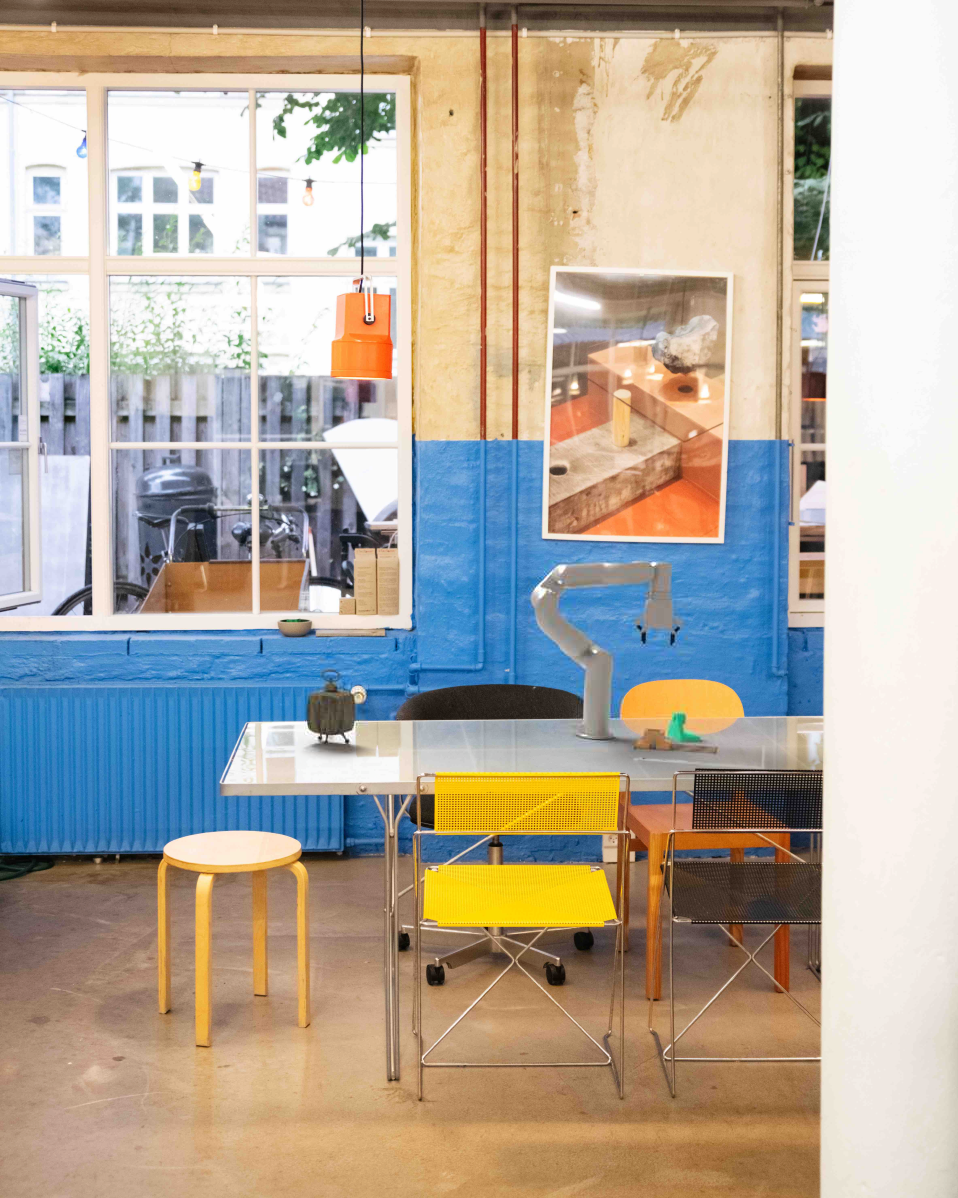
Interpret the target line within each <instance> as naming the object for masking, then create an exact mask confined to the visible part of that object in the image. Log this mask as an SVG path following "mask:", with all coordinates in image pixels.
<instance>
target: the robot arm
mask: <svg viewBox="0 0 958 1198" xmlns="http://www.w3.org/2000/svg"><path fill="white" fill-rule="evenodd" d="M671 582H672V565H671V563H670V562H667V561H653V562H649V561H645V560H635V561H631V562H627V563H626V562H623V563H621V562H620V563H617V562H613V563H612V562H603V561H602V562H590V563H589V562H585V563H575V564H573V563H571V564H568V563H567V564H566V563H562V564H558V565H556V567H554V568H553V569H552V570H551V572H549V574H547V576H546V577H545V578H544V579H543V580H542V581H541V582H540V583H539V584H538V585H537V586H536V587H535V589H534V590H533V591H532V593H531V595H530V602H531V605H532V606H533V608H534V609H535V610H534V611H535V612H534V616H535V620H536V623H537V625H538V627H539V629H540V631H542V632H543V633H544V634H545V635H546V636H547V637H548V638H549V639H551V640H552V641H553V642H554V643H556V644H557V646H558V648H559V649H560V650H561V652H563V653H564V654H565V655H566V656H568V657H569V659H570V658H571V660H573V661H574V662H575V663H577V664H578V665H579V666H580V667H582V668H583V669H584V670H585V674H584V682H583V684H584V686H583V710H582V711H583V718H582V722H580V723H570V729H571V730H578V737H581V738H584V739H588V740H589V739H590V740H608V739H613V738H614V737H615V735H614V732H612V731H610V730H611V729H610V727H611V726H610V725H611V723H610V722H611V700H612V699H611V694H612V680H613V672H614V659H613V657H612V654H610V651H608V650H606V649H604V648H602V647H599V645H597V644H596V643H594V641H592V640H591V639H589V638H588V637H587V634H585V633H584V632H583V631H581V630H579V629H578V628H577V627H575V626H574V625H573V624H572V623H570V622H569V621H568V620H567V619H565V618H564V617H563V616H562V615H561V614H560V611H559V603H560V599H559V598H560V597H561V596H562V595H563V594H564V593H565V591H566V590H567V589H569V590H570V589H571V590H572V589H582V588H593V587H594V588H597V587H611V586H623V585H637V584H647V583H649V585H648V586H649V587H648V588H649V589H648V592H645V593H644V597H647V598H648V599H646V601H645V606H644V615H642V616H640V617H638V618H635V619H634V620H633V621H634V624H635V626H636V628H637V629H638V630H639V631H640V634H641V637H640V642H642V644H644V645H645V644H646V643H647V632H646V630H647V629H659V630H660V629H661V630H662V629H663V630H669V632H670V636H669V637H670V638H669V639H670V641H669V644H670V646H673V645H674V644H675V643H676V641H675V639H676V634H677V633H678V632H679V631H680V629H681V628H682V627H683V624H684V621H682V620H680V619H678V618H676V617H675V616H674V605H673V604H674V603H673V601H672V600H671V589H672V585H671ZM641 621H643V627H642V625H641V624H640V622H641ZM674 623H677V627H676V628H674V627H673V626H674Z"/></svg>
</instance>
